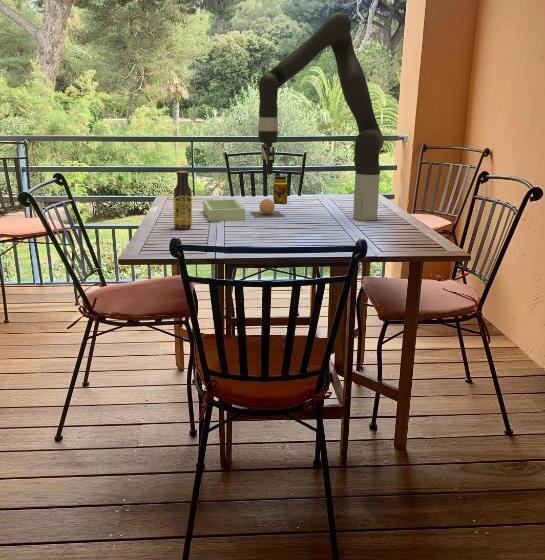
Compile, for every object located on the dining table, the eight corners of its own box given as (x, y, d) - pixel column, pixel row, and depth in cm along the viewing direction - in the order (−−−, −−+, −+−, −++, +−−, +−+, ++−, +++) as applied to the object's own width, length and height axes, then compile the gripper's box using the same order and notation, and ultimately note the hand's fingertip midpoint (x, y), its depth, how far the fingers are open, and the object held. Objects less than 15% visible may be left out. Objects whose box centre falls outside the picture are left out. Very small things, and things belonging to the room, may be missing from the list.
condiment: (276, 205, 248) (277, 177, 245) (267, 202, 255) (267, 175, 252) (291, 204, 252) (292, 176, 248) (282, 201, 259) (282, 174, 255)
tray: (245, 220, 217) (245, 209, 216) (209, 222, 214) (209, 210, 213) (235, 209, 238) (235, 199, 236) (203, 211, 235) (203, 200, 234)
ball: (276, 215, 226) (276, 200, 224) (261, 216, 224) (261, 200, 222) (272, 212, 231) (272, 197, 229) (258, 213, 230) (258, 198, 228)
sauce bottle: (175, 230, 201) (172, 172, 195) (173, 226, 207) (170, 170, 201) (193, 229, 203) (191, 172, 197) (191, 225, 209) (189, 170, 203)
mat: (285, 217, 224) (285, 216, 223) (254, 218, 221) (254, 217, 221) (278, 211, 235) (278, 210, 235) (249, 212, 232) (249, 211, 232)
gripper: (281, 130, 213) (280, 175, 218) (274, 128, 226) (273, 170, 231) (261, 130, 211) (261, 175, 216) (255, 128, 225) (254, 170, 230)
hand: (267, 172), depth 224 cm, fingers open, 8 cm apart
